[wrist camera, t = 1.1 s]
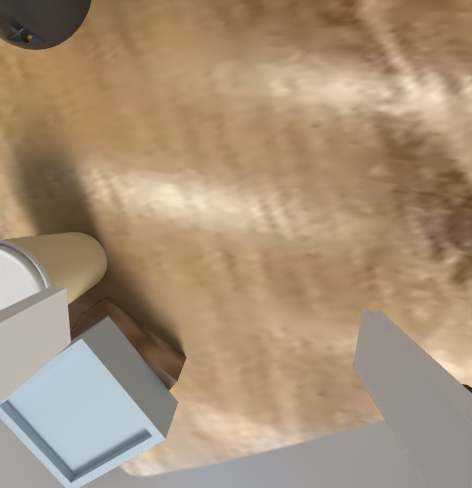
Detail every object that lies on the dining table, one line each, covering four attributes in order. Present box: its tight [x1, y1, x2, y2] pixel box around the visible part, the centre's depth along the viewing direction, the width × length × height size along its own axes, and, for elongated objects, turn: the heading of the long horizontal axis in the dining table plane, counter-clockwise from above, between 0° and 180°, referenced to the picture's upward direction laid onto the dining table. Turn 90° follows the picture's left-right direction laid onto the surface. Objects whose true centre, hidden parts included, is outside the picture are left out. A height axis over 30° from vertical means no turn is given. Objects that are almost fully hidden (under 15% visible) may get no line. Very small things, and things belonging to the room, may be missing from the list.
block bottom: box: [70, 298, 186, 390], centre depth 35 cm, size 14×14×5 cm
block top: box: [0, 316, 178, 488], centre depth 30 cm, size 14×14×5 cm
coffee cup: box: [0, 232, 107, 310], centre depth 29 cm, size 9×9×12 cm
